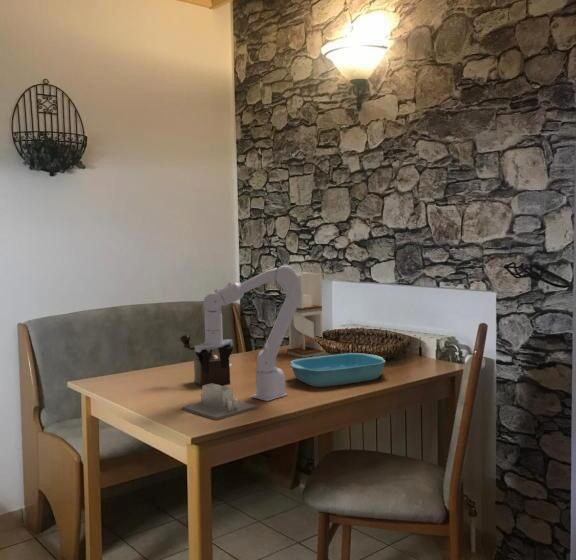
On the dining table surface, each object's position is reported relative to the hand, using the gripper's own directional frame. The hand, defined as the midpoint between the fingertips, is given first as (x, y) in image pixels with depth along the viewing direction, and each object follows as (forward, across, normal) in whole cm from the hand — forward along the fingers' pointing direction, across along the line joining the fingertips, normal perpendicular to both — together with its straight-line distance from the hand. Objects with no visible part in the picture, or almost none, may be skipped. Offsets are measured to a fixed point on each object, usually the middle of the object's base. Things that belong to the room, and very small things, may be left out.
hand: (215, 370), depth 211 cm
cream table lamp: (+10, -70, -24) cm, 75 cm away
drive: (+9, +7, +9) cm, 15 cm away
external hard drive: (+10, -27, -33) cm, 44 cm away
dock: (+9, +7, +10) cm, 15 cm away
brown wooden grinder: (+10, -10, -18) cm, 23 cm away
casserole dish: (+10, -46, +14) cm, 49 cm away
